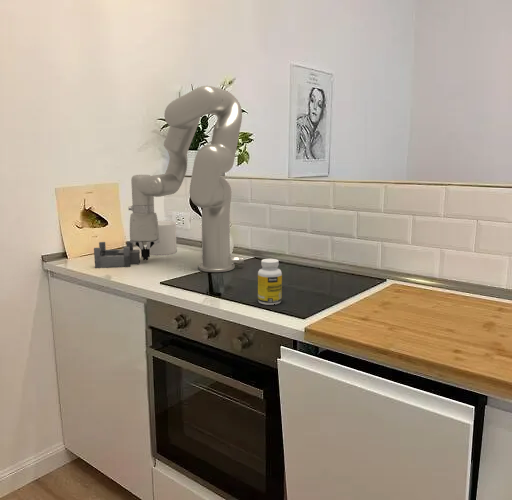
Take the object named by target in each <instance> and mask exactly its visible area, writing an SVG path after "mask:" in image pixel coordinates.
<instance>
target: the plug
mask: <svg viewBox="0 0 512 500" xmlns="http://www.w3.org/2000/svg"><path fill="white" fill-rule="evenodd" d="M118 255H124V250H120V251H119V252H118ZM140 257H141V250H140V249H133V250H130V262H131V266H135V265H140V262H141V258H140Z"/></svg>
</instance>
